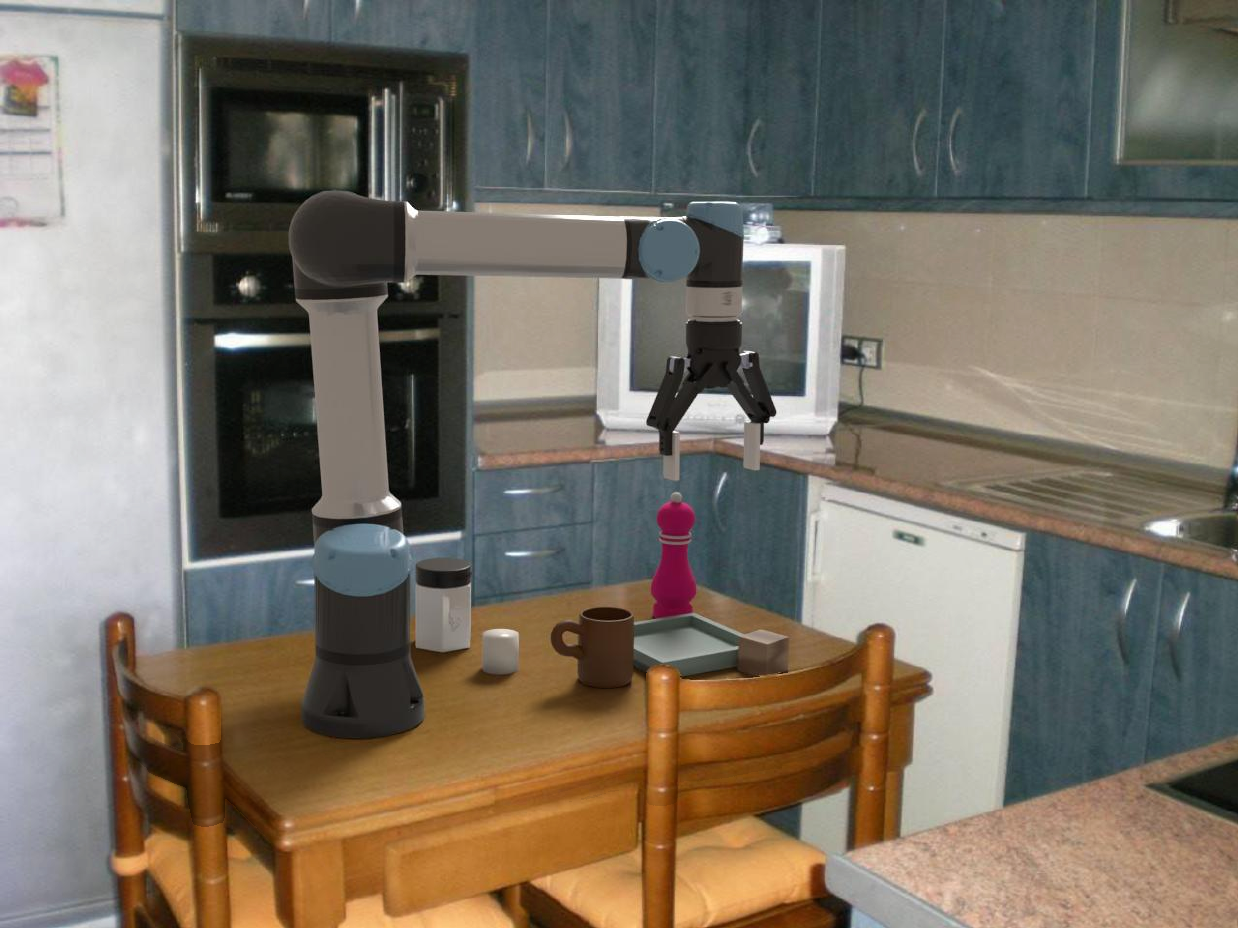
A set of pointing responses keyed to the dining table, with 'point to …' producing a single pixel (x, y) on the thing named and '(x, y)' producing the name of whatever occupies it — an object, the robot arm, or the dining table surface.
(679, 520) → the pepper mill
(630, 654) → the mug
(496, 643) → the white rounded cylinder
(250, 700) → the dining table surface
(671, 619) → the tray
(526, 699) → the dining table surface
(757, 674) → the block
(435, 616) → the jar
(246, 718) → the dining table surface
